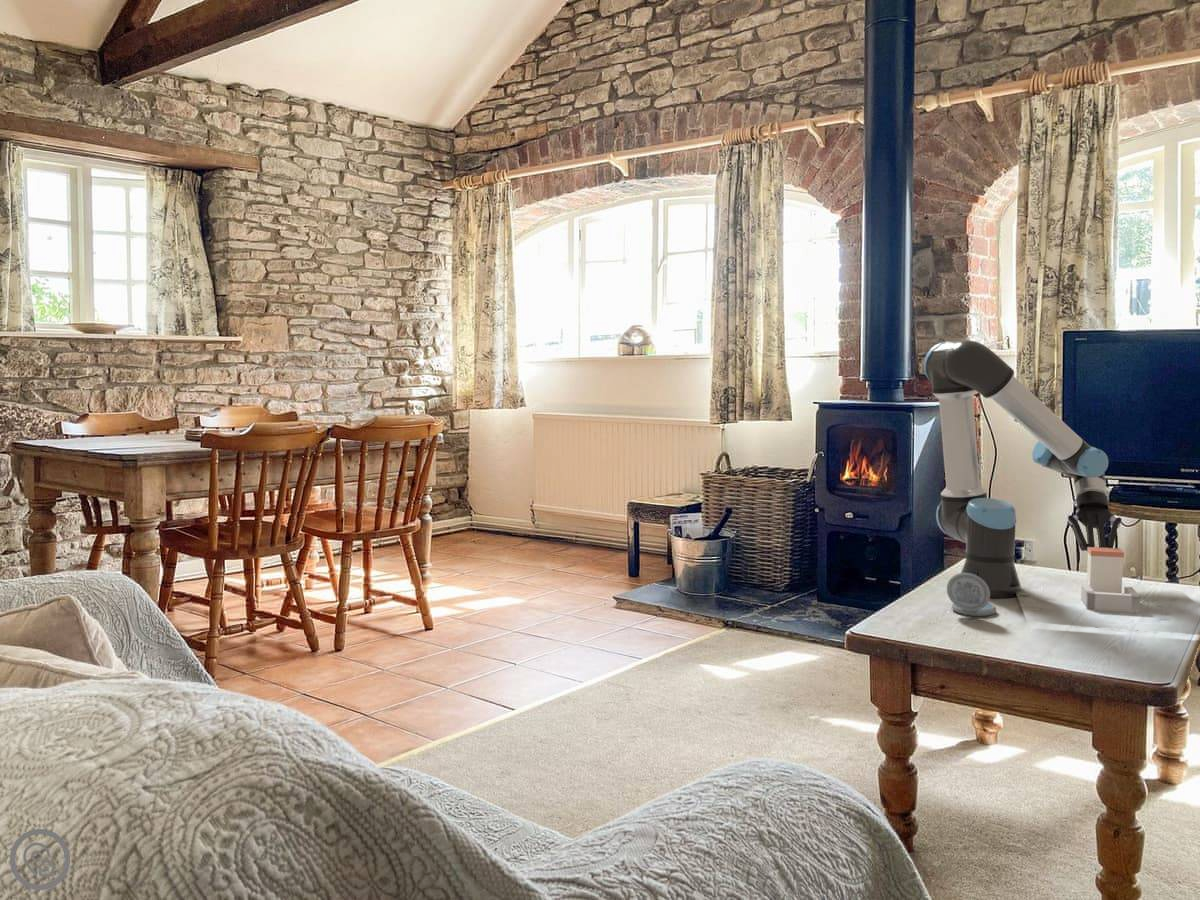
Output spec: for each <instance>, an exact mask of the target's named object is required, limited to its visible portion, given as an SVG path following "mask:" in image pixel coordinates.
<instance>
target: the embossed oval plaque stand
mask: <svg viewBox="0 0 1200 900" xmlns="http://www.w3.org/2000/svg"><path fill="white" fill-rule="evenodd" d="M946 593H947V596H948V598H949V600H950V601H951V602H952V604H951V608H952V610H953V612H956V613H958V614H960V615H963V616H964V615H965V616H970V617H972V616H973V617H989V616H992V615H994V614H996V613H997V607H996V606H995V605H994V604H992V603H990V602H989V601H990V599H991V598H990V590H989V587H988V585H987V584H986V583H985V581H984V580H983V579H981V578H980V577H978V576H977V575H974V574H971V573H961V572H960V573H956V574H954V575H952V576H951V577H950V579H948V582H947V585H946Z"/></svg>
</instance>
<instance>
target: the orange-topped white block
mask: <svg viewBox="0 0 1200 900" xmlns="http://www.w3.org/2000/svg"><path fill="white" fill-rule="evenodd" d="M1086 552H1087V564H1086V566H1087V567H1086V568H1087V569H1086V585H1089V586H1090V587H1091V588H1092V590H1093V591H1094V592H1108V593H1122V591H1123V590H1122V588H1123V571H1124V569H1123V566H1124V558H1125V557H1124V556H1125V552H1124V551H1123V550H1122V549H1121V548H1118V547H1113V548H1100V547H1099V546H1098V547H1097V546H1095V547H1088V550H1087V551H1086Z"/></svg>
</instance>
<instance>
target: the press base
mask: <svg viewBox="0 0 1200 900" xmlns="http://www.w3.org/2000/svg"><path fill="white" fill-rule="evenodd" d="M1123 590H1124V591H1123V592H1124V593H1108V592H1094V591H1093V590H1092V588H1091V587H1090V586H1089V585H1087V583H1084V584H1082V583H1081V591H1080V592H1081V593H1080V600H1081V602H1082V604H1083V605H1084V607H1085V609H1086V610H1096V611H1107V612H1110V611H1111V612H1122V613H1123V612H1126V613H1140V608H1141V607H1140V606H1141V605H1140V603H1141V595H1140V594H1138V592H1137V591H1136V590H1135V589H1134V588H1133V586H1124V589H1123Z"/></svg>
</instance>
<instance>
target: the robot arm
mask: <svg viewBox="0 0 1200 900" xmlns="http://www.w3.org/2000/svg"><path fill="white" fill-rule="evenodd" d="M923 371H924V375H925V376H926V378H927V379H928V380H929V381H930V382H931V391H932V395H933V397H934V396H935V398H937V399H938V401H939V402H938V405H939V414H940V415H939V416H940V425H941V426H940V427H941V429H940V430H941V439H942V441H941V442H942V453H943V454H942V455H943V465H944V473H945V475H944V478H945V488H944V489H943V490H942V491H941V492H940V502H939V505H937V508H936V512H935V517H936V523H937V525H938V527H939V529H940V530H941V531H942V532H943V533H944V534H945V535H947V536H948V537H950V538H951V539H953V540H956V541H960V542H962V543H964V544H965V562H964V563H963V566H962V568H961V572H960V573H971V574H974V575H977V576H978V577H980V578H981V579H983V580H984V581H985V583H986V584H987V585H988V587H989V590H990V599H991V598H993V599H1007V598H1016V597H1017V596H1018V594H1017V593H1019V592H1021V589H1022V588H1021V587H1022V586H1021V582H1020V579H1019V575H1018V572H1017V569H1016V566H1015V551H1016V550H1015V549H1016V548H1015V547H1016V545H1015V544H1016V526H1017V525H1016V524H1017V517H1016V516H1017V515H1016V514H1017V513H1016V509H1015V507H1014V506H1013V505H1012V504H1011V503H1009V502H1007V501H1006V500H1001V499H996V498H991V497H990V498H989V497H988V495H987V490H986V489H985V488H984V487H983V486H982V485H981V483H980V471H979V470H980V469H979V460H978V446H977V434H976V421H975V407H974V406H975V405H974V395H976V393H979V394H980V395H981V396H982V397H984V398H985V399H992V400H993V401H994V402H995V403H996V404H997V405H999V407H1001V408H1002V409H1003V410H1004V411H1005V412H1006V413H1007V414H1009V415H1010V417H1012V418H1013V419H1014V420H1015V421H1016V422H1017V423H1018V424H1020V425H1021V426H1022V427H1023V428H1024V429H1026V431H1028V432H1029V433H1030V434H1031V435H1032V436H1033V437H1034V438H1035V439H1037V442H1036V443H1035V445H1034V448H1033V450H1032V451H1031V452H1032V453H1031V455H1032V456H1031V458H1032V460H1033V462H1034V463H1036V464H1038V465H1039V466H1041V467H1044V468H1046V469H1049V470H1051V471H1055V472H1057V473H1060V474H1063V475H1065V476H1067V477H1069V478H1072V479H1073V482H1074V483H1073V484H1074V492H1075V501H1076V503H1075V504H1076V512H1075V515H1070V514H1069V515H1068V517H1067V522H1066V523H1067V524H1068V526H1069V527H1070V528H1071V529H1072V531H1073V534H1074V536H1075V539H1076V541H1077V544H1078V546H1079V549H1080V551H1082V552H1085V551H1086V552H1087V550H1088V547H1096V544H1095V534H1094V529H1096V535H1097V540H1098V541H1097V542H1098V547H1100V548H1114V545H1115V540H1116V536H1117V531H1118V529H1119V527H1121V523H1122V520H1123V519H1122V518H1121V517H1115V516H1113V514H1112V512H1111V511H1110V508H1109V501H1108V492H1107V484H1106V477H1105V472H1106V471H1107V469H1108V467H1109V457H1108V455H1107V454H1106V452H1104V451H1103V450H1102V449H1099V448H1097V447H1094V446H1091V445H1089V444H1088V442H1086V441H1085V440H1084V439H1083V438H1082V437H1081V436H1080V435H1078V434H1077V433H1076V432H1075V431H1074V430H1073V429H1071V427H1070V426H1068V425H1067V424H1066V423H1065V422H1064V421H1063V420H1062V419H1061V418H1060V417H1058V415H1056V414H1055V413H1054V412H1053V411H1052V410H1051V409H1050V408H1049V407H1048V406H1046V405H1045V403H1043V402H1042V400H1040V399H1039V398H1038V397H1037V396H1036V395H1035V394H1034V393H1032V391H1030V390H1029V389H1028V388H1027V387H1026V386H1025V385H1024V384H1023V383H1022V382H1021V381H1019V379H1018V378H1017V377H1015V370H1014V369H1013V368H1012V367H1011V366H1010V365H1009V364H1007V362H1005V361H1004V360H1003V359H1002V358H1001V357H1000V356H999V355H997V354H996V353H995V352H994V351H993V350H991V349H990V348H989V347H987V346H986V345H984V344H982V343H980V342H978V341H973V340H947V341H944V342H943V341H942V342H939V343H937V344H935V345H934V346H932V347H931V348H930V349H929V351H927V353H926V355H925V357H924V360H923ZM1079 522H1080V523H1081V524H1082V525H1083V526H1084V527H1085V532H1086V538H1085V536H1084V533H1083V531H1082V528H1081V526H1080V524H1079ZM1108 523H1110V525H1111V529H1110V534H1109V538H1108V542H1107V544H1106V535H1105V526H1106V525H1107V524H1108ZM1086 540H1087V541H1086Z"/></svg>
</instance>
